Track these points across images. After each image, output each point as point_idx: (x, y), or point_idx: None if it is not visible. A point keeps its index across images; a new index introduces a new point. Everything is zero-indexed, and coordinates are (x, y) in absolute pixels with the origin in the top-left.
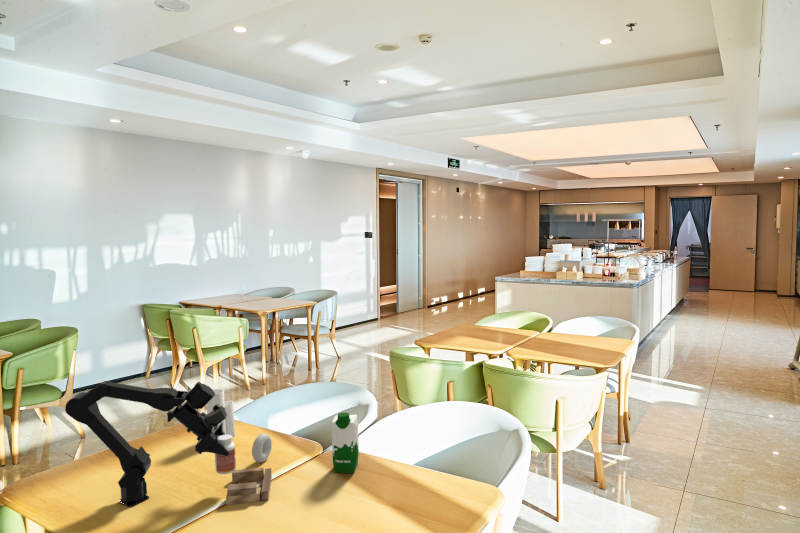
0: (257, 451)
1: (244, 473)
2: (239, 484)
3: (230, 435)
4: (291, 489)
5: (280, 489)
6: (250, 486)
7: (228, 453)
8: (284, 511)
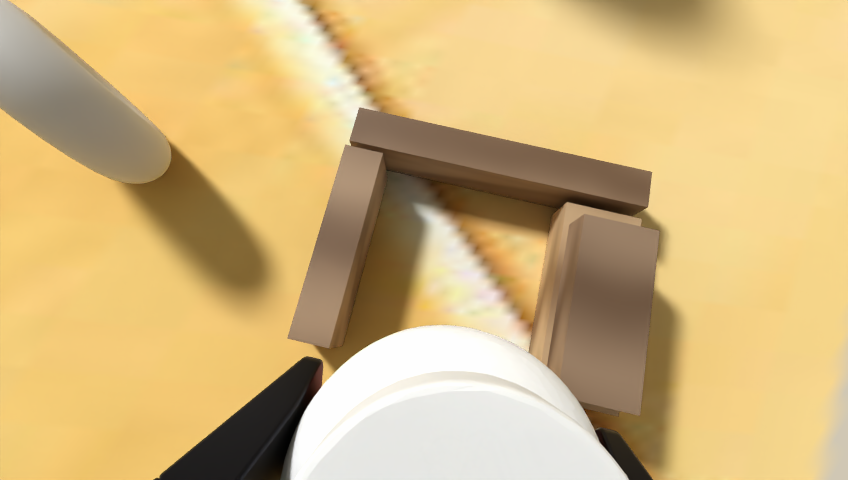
0: (139, 134)
1: (352, 267)
2: (581, 323)
3: (410, 420)
4: (548, 73)
5: (528, 119)
6: (634, 258)
7: (617, 440)
8: (753, 142)
